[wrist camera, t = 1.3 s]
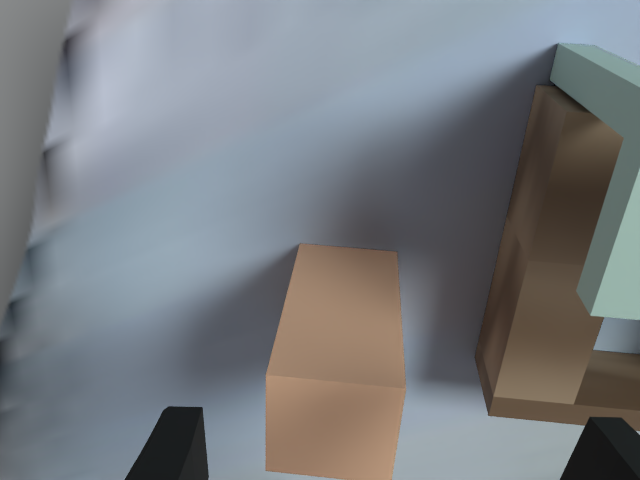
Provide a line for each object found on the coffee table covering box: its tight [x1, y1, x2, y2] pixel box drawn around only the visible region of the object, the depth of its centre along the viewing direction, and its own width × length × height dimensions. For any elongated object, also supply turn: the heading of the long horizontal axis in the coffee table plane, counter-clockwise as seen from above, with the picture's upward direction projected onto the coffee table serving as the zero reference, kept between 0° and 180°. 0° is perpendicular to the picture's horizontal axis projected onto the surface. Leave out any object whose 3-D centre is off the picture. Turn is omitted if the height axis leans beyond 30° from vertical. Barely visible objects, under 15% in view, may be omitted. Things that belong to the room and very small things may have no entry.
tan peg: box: [266, 243, 406, 480], centre depth 20 cm, size 4×4×8 cm
